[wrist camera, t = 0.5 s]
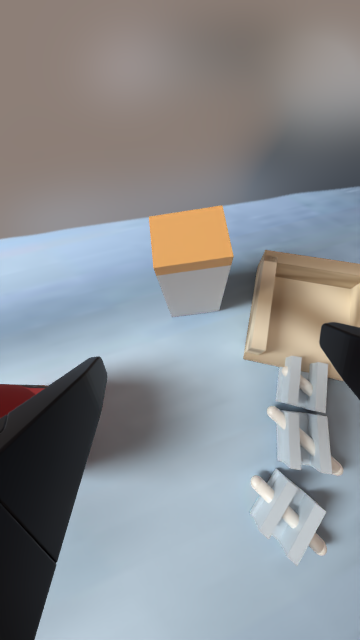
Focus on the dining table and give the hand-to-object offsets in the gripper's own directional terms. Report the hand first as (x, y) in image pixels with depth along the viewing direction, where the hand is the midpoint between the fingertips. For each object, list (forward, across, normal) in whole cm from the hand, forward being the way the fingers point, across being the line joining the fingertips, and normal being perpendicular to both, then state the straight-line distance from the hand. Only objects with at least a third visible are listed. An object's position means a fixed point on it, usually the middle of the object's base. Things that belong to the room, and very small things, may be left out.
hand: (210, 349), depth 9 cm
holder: (+12, -11, +6) cm, 17 cm away
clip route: (+5, -7, +14) cm, 16 cm away
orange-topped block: (+15, 0, +3) cm, 15 cm away
